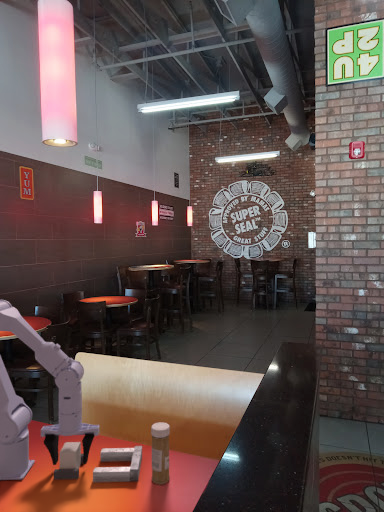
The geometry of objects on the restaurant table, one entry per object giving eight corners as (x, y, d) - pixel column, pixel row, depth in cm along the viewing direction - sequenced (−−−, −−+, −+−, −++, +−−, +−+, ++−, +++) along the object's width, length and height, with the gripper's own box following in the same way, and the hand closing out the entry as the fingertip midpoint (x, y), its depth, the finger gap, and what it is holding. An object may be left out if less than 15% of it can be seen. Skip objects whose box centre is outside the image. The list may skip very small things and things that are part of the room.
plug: (59, 476, 93) (59, 452, 93) (65, 464, 98) (65, 442, 98) (75, 475, 93) (75, 452, 93) (80, 464, 98) (80, 442, 98)
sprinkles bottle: (173, 481, 91) (173, 426, 91) (156, 487, 89) (156, 431, 88) (164, 472, 95) (164, 419, 95) (148, 477, 92) (148, 424, 92)
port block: (92, 482, 91) (92, 470, 91) (101, 457, 102) (102, 446, 102) (137, 481, 91) (138, 469, 91) (142, 456, 102) (142, 445, 102)
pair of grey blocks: (53, 479, 92) (53, 471, 92) (63, 461, 100) (63, 454, 100) (78, 479, 92) (78, 471, 92) (85, 460, 100) (85, 453, 100)
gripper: (101, 403, 100) (101, 453, 100) (47, 404, 99) (47, 454, 99) (96, 414, 93) (96, 468, 93) (37, 416, 92) (37, 470, 92)
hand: (70, 462), depth 96 cm, fingers open, 7 cm apart
